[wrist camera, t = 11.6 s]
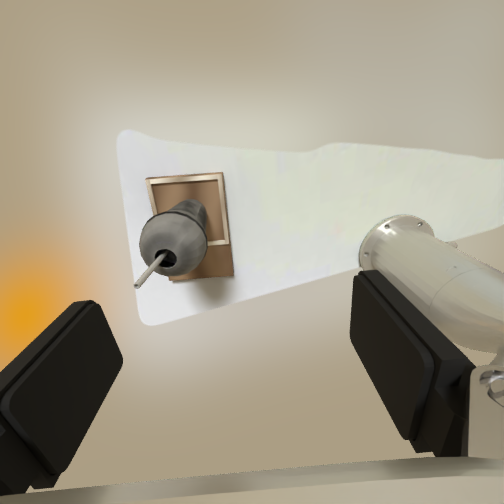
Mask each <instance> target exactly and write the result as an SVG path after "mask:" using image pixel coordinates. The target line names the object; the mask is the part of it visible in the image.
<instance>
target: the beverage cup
mask: <svg viewBox="0 0 504 504" xmlns="http://www.w3.org/2000/svg"><path fill="white" fill-rule="evenodd" d="M206 224H207V213H206V209H205V207H204V206H203V204H202V203H201V202H199V201H198V200H194V199H187V200H184V201H182V202H180V203H178V204H177V205H175V206H174V207H172V208H171V209H169V210H168V211H165V212H162V213H159V214H156V215H154V216H153V217H152V218H150V219H149V220H148V221H147V223H146V224H145V226H144V228H143V230H142V233H141V237H140V242H139V247H140V252H141V256H142V258H143V260H144V261H145V263H146V265H147V266H148V267H149V268H148V269H147V270H146V271H145V272H144V273H143V275H142V276H141V277H140V278H139V279H138V280H137V281H136V283H135V284H134V287H135V288H136V289H138V288H140V287H141V285H142V284H143V283H144V282H145V281H146V279H147V278H148V277H149V276H150V275H151V273H152V272H153V271H155V272H156V273H158V274H160V275H164V276H181V275H184V274H187V273H189V272H190V271H192V270H193V269H195V268H196V267H197V266H198V265H199V264H200V262H201V261H202V260H203V258H204V257H205V255H206V252H207V249H208V241H207V236H206Z"/></svg>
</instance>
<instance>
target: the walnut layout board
mask: <svg viewBox="0 0 504 504" xmlns="http://www.w3.org/2000/svg"><path fill="white" fill-rule="evenodd" d="M145 181H146V185H147V190H148V194H149V198H150V202H151V207H152V211H153V215H156V214H159V213H162V212H165V211H168V210H169V209H171V208H172V207H174V206H175V205H177V204H178V203H180V202H182V201H184V200H187V199H194V200H198V201H199V202H201V203H202V204H203V206H204V207H205V209H206V213H207V224H206V236H207V241H208V249H207V252H206V255H205V257H204V258H203V260H202V261H201V262H200V264H199V265H198V266H197V267H196V268H195V269H193V270H192V271H190V272H189V273H187V274H184V275H181V276H168V277H169V281H172V280H184V279H197V278H209V277H221V276H233V263H232V254H231V245H230V235H229V226H228V217H227V208H226V198H225V189H224V180H223V172H218V173H204V174H191V175H177V176H163V177H149V178H146V179H145Z"/></svg>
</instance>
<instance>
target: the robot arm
mask: <svg viewBox="0 0 504 504" xmlns="http://www.w3.org/2000/svg"><path fill="white" fill-rule="evenodd" d="M456 248H457V243H456V242H454V241H452V242H443V241H441V240H439V239H437V238H435V237H434V233H433V230H432V228H431V227H430V225H429V224H428V223H426V222H425V221H424V220H422V219H420V218H418V217H415V216H411V215H398V216H394V217H391V218H388V219H386V220H384V221H382V222H381V223H379V224H378V225H376V226H375V227H374V228H373V229H372V230H371V231H370V232H369V233H368V235H367V236H366V237H365V239H364V241H363V243H362V246H361V248H360V254H359V258H360V264H361V267H362V268H363V270H364V271H360V272H359V273H358V275H357V276H354V279H353V293H352V307H351V321H350V339H351V342H352V344H353V346H354V348H355V350H356V352H357V354H358V356H359V358H360V359H361V361H362V363H363V365H364V367H365V369H366V371H367V373H368V375H369V377H370V378H371V380H372V382H373V384H374V386H375V388H376V390H377V392H378V393H379V395H380V397H381V399H382V401H383V403H384V405H385V407H386V409H387V411H388V412H389V414H390V416H391V418H392V420H393V422H394V424H395V426H396V428H397V429H398V431H399V433H400V435H401V436H402V437H403V439H405V440H409V441H410V443H411V445H412V446H413V448H414V450H415V452H416V453H423V452H433V454H434V455H435V457H426V458H411V459H398V460H397V459H396V460H383V461H367V462H353V463H342V464H331V465H320V466H308V467H297V468H286V469H274V470H263V471H252V472H241V473H230V474H220V475H209V476H198V477H188V478H177V479H167V480H156V481H146V482H135V483H125V484H115V485H106V486H95V487H86V488H85V487H84V488H75V489H65V490H55V491H45V492H36V493H26V491H27V489H28V488H29V486H30V485H31V486H32V487H33V488H34V489H43V488H52V487H54V485H55V483H56V482H57V480H58V478H59V476H60V474H61V473H62V472H64V471H65V470H66V469H67V468H68V466H69V464H70V462H71V461H72V459H73V457H74V455H75V453H76V451H77V449H78V447H79V446H80V444H81V442H82V440H83V438H84V436H85V434H86V433H87V431H88V429H89V427H90V425H91V423H92V421H93V420H94V418H95V416H96V414H97V412H98V410H99V408H100V406H101V405H102V403H103V401H104V399H105V397H106V395H107V393H108V392H109V390H110V388H111V386H112V384H113V382H114V380H115V379H116V377H117V375H118V373H119V371H120V369H121V367H122V364H123V357H122V354H121V352H120V350H119V347H118V345H117V343H116V341H115V338H114V336H113V334H112V331H111V329H110V327H109V325H108V322H107V320H106V318H105V315H104V313H103V311H102V308H101V306H100V305H99V304H97V303H96V302H94V301H92V300H87V301H78V302H74V303H72V304H71V305H70V306H69V307H68V308H67V309H66V310H65V311H64V312H63V313H62V314H61V315H60V316H59V317H57V318H56V320H54V321H53V322H52V323H51V324H50V325H49V326H48V327H47V328H46V329H45V330H44V331H43V332H42V333H41V334H40V335H39V336H38V337H37V338H36V339H35V340H34V341H33V342H31V343H30V344H29V345H28V346H27V347H26V348H25V349H24V350H23V351H22V352H21V353H20V354H19V355H18V356H17V357H16V358H15V359H14V360H13V361H12V362H11V363H9V364H8V365H7V366H6V367H5V368H4V369H3V370H2V371H1V372H0V504H504V273H502V272H501V271H499V270H497V269H495V268H493V267H491V266H489V265H487V264H485V263H483V262H481V261H479V260H477V259H476V258H473V257H471V256H469V255H468V254H466V253H464V252H462V251H460V250H458V249H456ZM451 341H452V342H454V343H456V344H458V345H460V346H463V347H466V348H469V349H473V350H478V351H483V352H490V353H497V356H496V357H495V359H494V360H493V361H492V362H491V363H490V364H489V365H483V366H478V367H476V366H475V365H474V364H473V363H472V362H471V361H470V360H469V359H468V358H467V357H466V356H465V355H464V354H463V353H462V352H461V351H460V350H459V349H458V348H457V347H456V346H455V345H454V344H453V343H452V342H451Z"/></svg>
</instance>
